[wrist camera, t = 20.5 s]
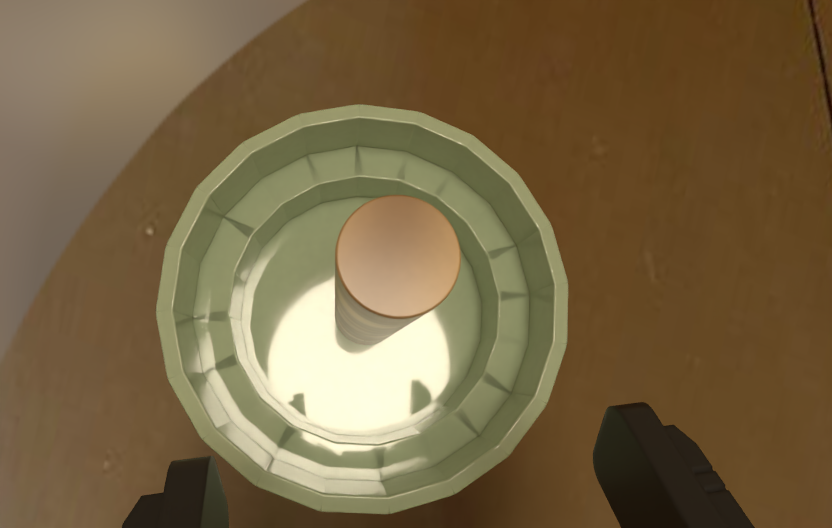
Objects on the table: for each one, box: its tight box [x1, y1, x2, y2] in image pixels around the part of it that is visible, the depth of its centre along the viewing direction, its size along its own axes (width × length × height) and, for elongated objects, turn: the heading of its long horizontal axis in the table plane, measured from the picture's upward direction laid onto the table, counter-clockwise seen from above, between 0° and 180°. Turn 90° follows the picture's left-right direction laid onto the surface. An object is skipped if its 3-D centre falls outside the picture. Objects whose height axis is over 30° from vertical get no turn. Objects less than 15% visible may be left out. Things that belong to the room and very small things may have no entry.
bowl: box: [156, 104, 568, 514], centre depth 25 cm, size 15×15×6 cm
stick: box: [335, 195, 461, 345], centre depth 20 cm, size 3×3×14 cm
